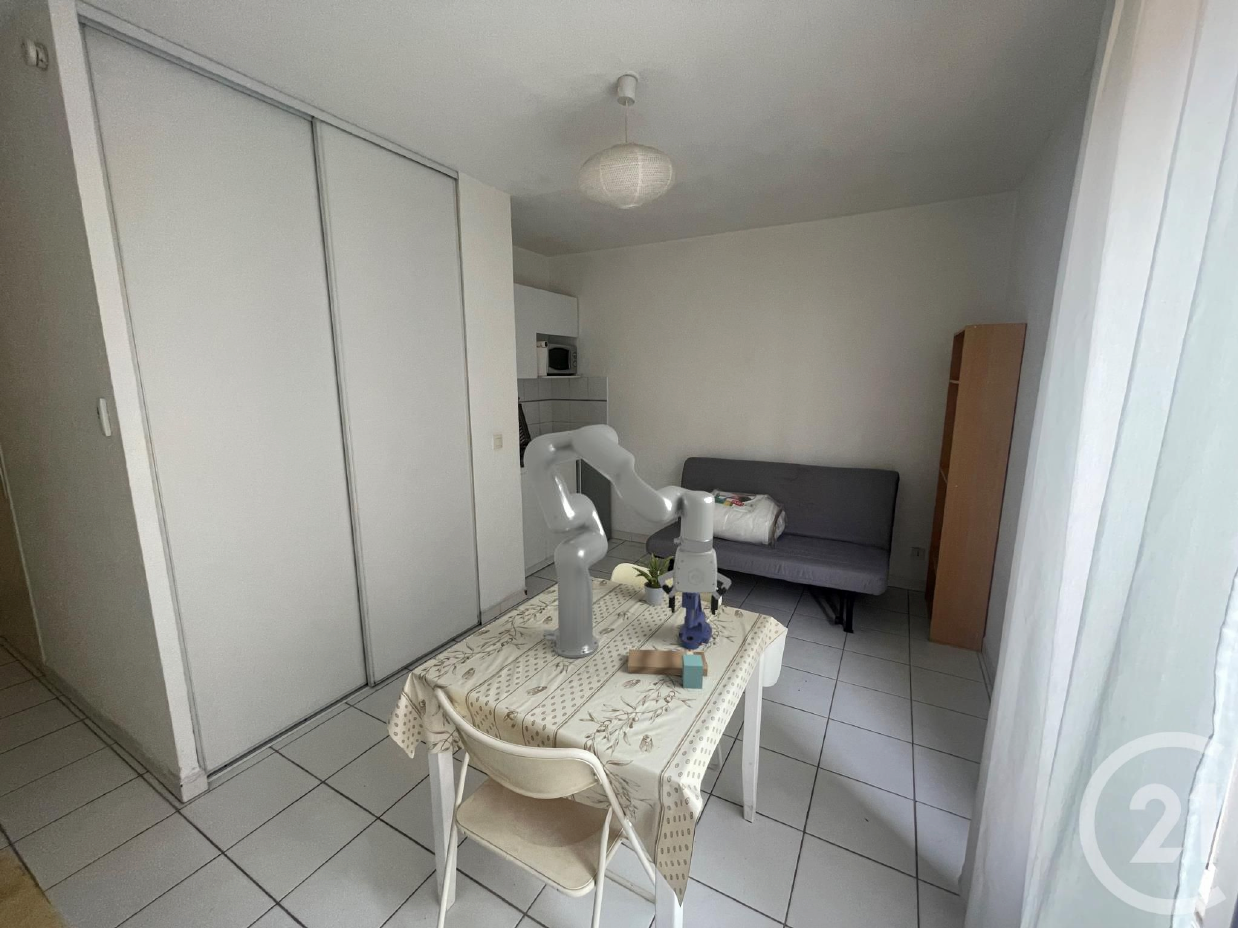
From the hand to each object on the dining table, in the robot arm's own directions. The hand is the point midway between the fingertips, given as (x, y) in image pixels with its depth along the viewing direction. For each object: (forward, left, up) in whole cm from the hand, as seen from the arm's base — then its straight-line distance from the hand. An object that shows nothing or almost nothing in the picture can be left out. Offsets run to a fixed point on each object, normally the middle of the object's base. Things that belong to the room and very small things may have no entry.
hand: (692, 611), depth 120 cm
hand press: (+4, +22, -19) cm, 29 cm away
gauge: (0, +2, -19) cm, 19 cm away
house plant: (-7, +45, -19) cm, 50 cm away
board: (-5, +6, -18) cm, 20 cm away
